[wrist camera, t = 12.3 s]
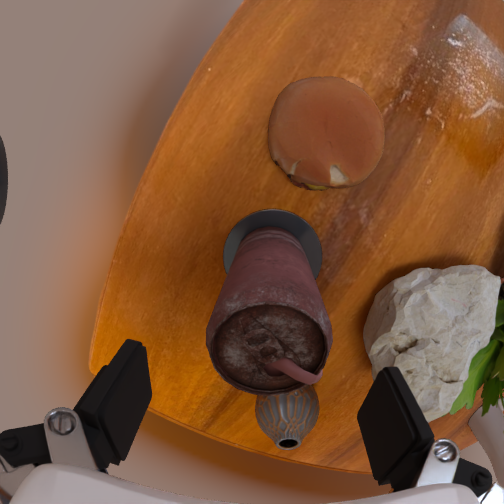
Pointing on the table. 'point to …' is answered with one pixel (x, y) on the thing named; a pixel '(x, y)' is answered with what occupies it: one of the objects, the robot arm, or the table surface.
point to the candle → (491, 436)
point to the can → (269, 318)
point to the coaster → (279, 220)
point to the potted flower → (486, 368)
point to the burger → (325, 133)
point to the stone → (432, 330)
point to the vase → (288, 416)
